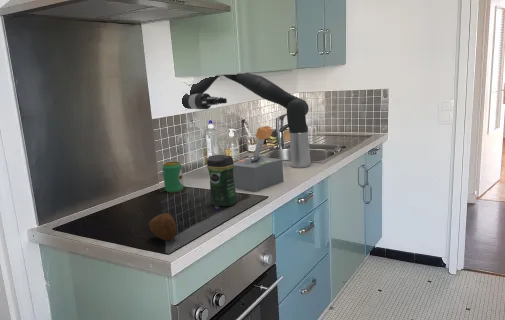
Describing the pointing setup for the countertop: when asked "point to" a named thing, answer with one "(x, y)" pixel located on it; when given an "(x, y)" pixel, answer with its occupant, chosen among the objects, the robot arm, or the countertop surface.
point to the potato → (163, 227)
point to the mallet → (261, 141)
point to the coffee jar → (221, 180)
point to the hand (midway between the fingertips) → (225, 100)
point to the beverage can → (173, 177)
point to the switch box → (257, 173)
